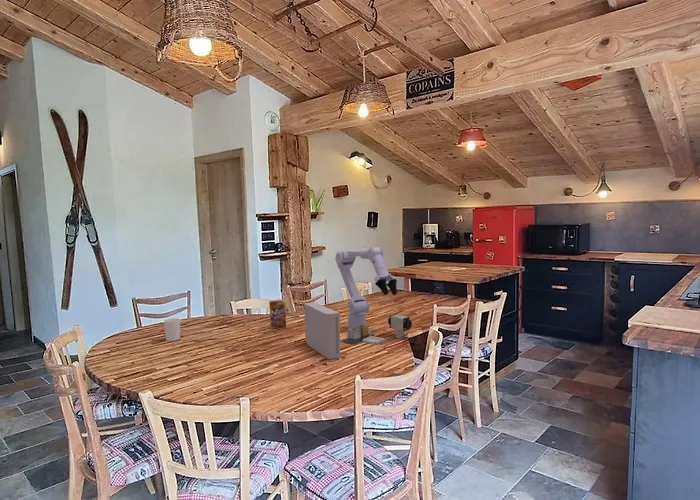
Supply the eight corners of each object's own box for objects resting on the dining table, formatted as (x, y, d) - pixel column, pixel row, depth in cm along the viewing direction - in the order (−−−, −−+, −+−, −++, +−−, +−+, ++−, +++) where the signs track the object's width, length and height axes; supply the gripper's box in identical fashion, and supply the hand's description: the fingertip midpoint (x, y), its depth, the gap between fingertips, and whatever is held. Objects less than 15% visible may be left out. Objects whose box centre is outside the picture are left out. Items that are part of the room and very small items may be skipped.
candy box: (269, 329, 249) (269, 301, 248) (270, 327, 254) (269, 300, 252) (286, 328, 251) (285, 301, 249) (286, 326, 255) (285, 299, 254)
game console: (328, 360, 196) (327, 314, 194) (304, 344, 220) (303, 303, 219) (340, 357, 199) (339, 312, 197) (315, 342, 223) (314, 302, 221)
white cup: (184, 338, 235) (183, 319, 234) (172, 342, 228) (171, 322, 227) (173, 336, 238) (172, 317, 237) (161, 340, 231) (160, 321, 230)
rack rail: (342, 343, 220) (342, 339, 220) (363, 335, 234) (363, 332, 234) (354, 345, 216) (354, 342, 216) (374, 337, 230) (374, 334, 230)
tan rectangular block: (356, 338, 227) (355, 326, 227) (361, 336, 231) (361, 324, 230) (363, 339, 224) (363, 327, 224) (368, 337, 228) (368, 325, 227)
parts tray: (362, 342, 220) (361, 339, 220) (371, 339, 227) (371, 335, 227) (375, 345, 216) (375, 342, 215) (384, 341, 222) (384, 338, 222)
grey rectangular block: (347, 341, 221) (347, 329, 221) (353, 339, 225) (353, 327, 225) (355, 343, 219) (354, 330, 218) (360, 340, 222) (360, 328, 222)
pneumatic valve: (406, 341, 222) (406, 316, 221) (387, 336, 230) (387, 313, 229) (413, 338, 226) (413, 314, 225) (394, 334, 234) (394, 311, 233)
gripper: (378, 264, 218) (388, 290, 213) (395, 266, 229) (405, 290, 224) (367, 271, 222) (377, 297, 217) (384, 272, 233) (394, 297, 228)
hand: (391, 294), depth 221 cm, fingers open, 7 cm apart
